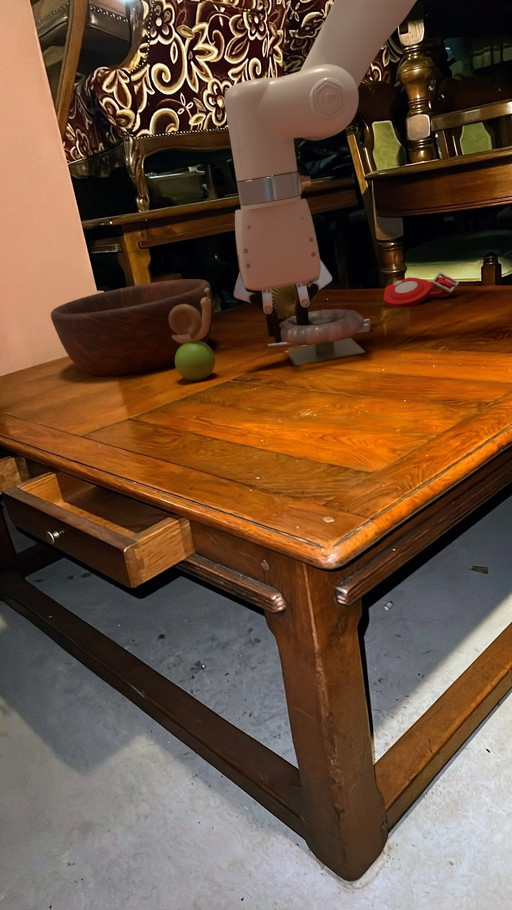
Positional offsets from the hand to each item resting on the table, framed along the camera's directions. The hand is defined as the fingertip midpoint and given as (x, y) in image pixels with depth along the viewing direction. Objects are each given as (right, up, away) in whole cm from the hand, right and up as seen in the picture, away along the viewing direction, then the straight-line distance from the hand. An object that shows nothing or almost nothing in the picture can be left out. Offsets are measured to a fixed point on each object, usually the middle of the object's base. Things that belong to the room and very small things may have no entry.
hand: (289, 337), depth 92 cm
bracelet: (+4, +1, 0) cm, 4 cm away
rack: (+5, -3, +2) cm, 6 cm away
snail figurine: (-12, -6, +2) cm, 13 cm away
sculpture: (+2, +8, +29) cm, 30 cm away
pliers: (+6, +2, +15) cm, 16 cm away
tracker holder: (+23, +10, +26) cm, 37 cm away
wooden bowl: (-22, 0, +19) cm, 30 cm away
